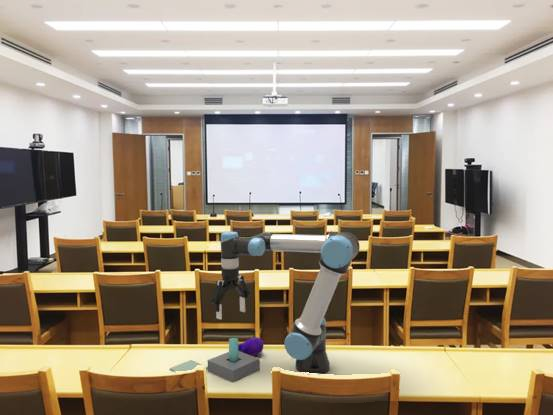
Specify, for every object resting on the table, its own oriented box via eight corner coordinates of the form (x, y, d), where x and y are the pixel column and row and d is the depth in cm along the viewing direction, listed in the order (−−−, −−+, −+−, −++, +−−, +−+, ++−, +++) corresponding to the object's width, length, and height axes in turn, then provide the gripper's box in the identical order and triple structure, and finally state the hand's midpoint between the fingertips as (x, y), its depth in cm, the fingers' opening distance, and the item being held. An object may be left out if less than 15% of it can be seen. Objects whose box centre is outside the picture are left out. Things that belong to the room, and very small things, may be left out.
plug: (240, 370, 205) (239, 339, 204) (233, 373, 202) (233, 341, 201) (234, 367, 208) (233, 337, 207) (227, 370, 205) (226, 339, 204)
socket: (259, 369, 206) (259, 358, 205) (232, 382, 194) (232, 370, 194) (234, 360, 217) (234, 349, 216) (207, 371, 205) (207, 360, 204)
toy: (232, 361, 218) (264, 357, 218) (229, 341, 217) (261, 337, 217) (233, 353, 227) (264, 350, 227) (231, 334, 226) (262, 330, 226)
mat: (208, 368, 207) (208, 367, 207) (186, 377, 199) (186, 376, 199) (191, 361, 215) (191, 359, 215) (169, 369, 207) (169, 368, 207)
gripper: (245, 261, 216) (246, 307, 218) (201, 270, 198) (203, 320, 200) (256, 264, 211) (257, 310, 213) (212, 273, 193) (214, 323, 195)
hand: (231, 315), depth 206 cm, fingers open, 13 cm apart
